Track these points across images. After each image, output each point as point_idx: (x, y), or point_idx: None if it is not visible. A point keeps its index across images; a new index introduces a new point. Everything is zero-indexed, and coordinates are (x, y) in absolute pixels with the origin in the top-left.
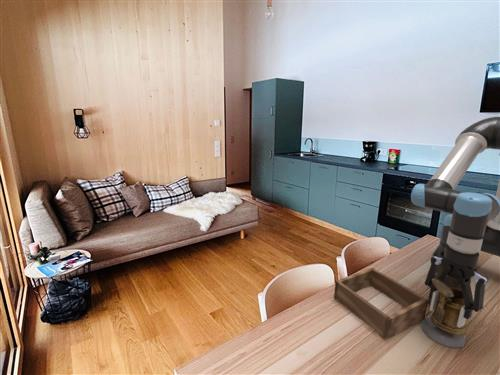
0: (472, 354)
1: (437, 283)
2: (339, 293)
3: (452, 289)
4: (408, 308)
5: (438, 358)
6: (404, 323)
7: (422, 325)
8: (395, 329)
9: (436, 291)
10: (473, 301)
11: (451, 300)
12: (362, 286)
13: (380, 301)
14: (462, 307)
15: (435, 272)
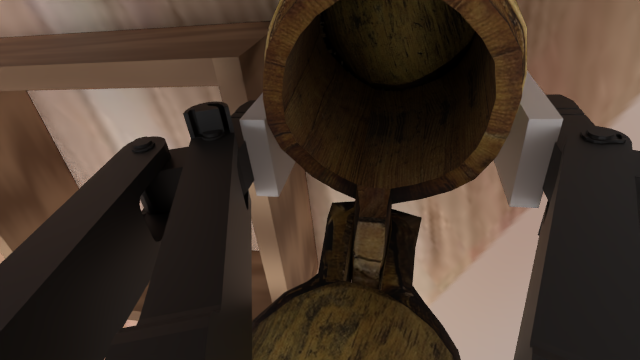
0: (562, 52)
1: None
2: None
3: (308, 18)
4: (266, 233)
5: (464, 203)
6: (299, 209)
7: None
8: (307, 249)
9: (261, 170)
10: (632, 173)
11: (418, 224)
12: (29, 127)
13: (132, 117)
14: (519, 205)
15: (83, 289)
